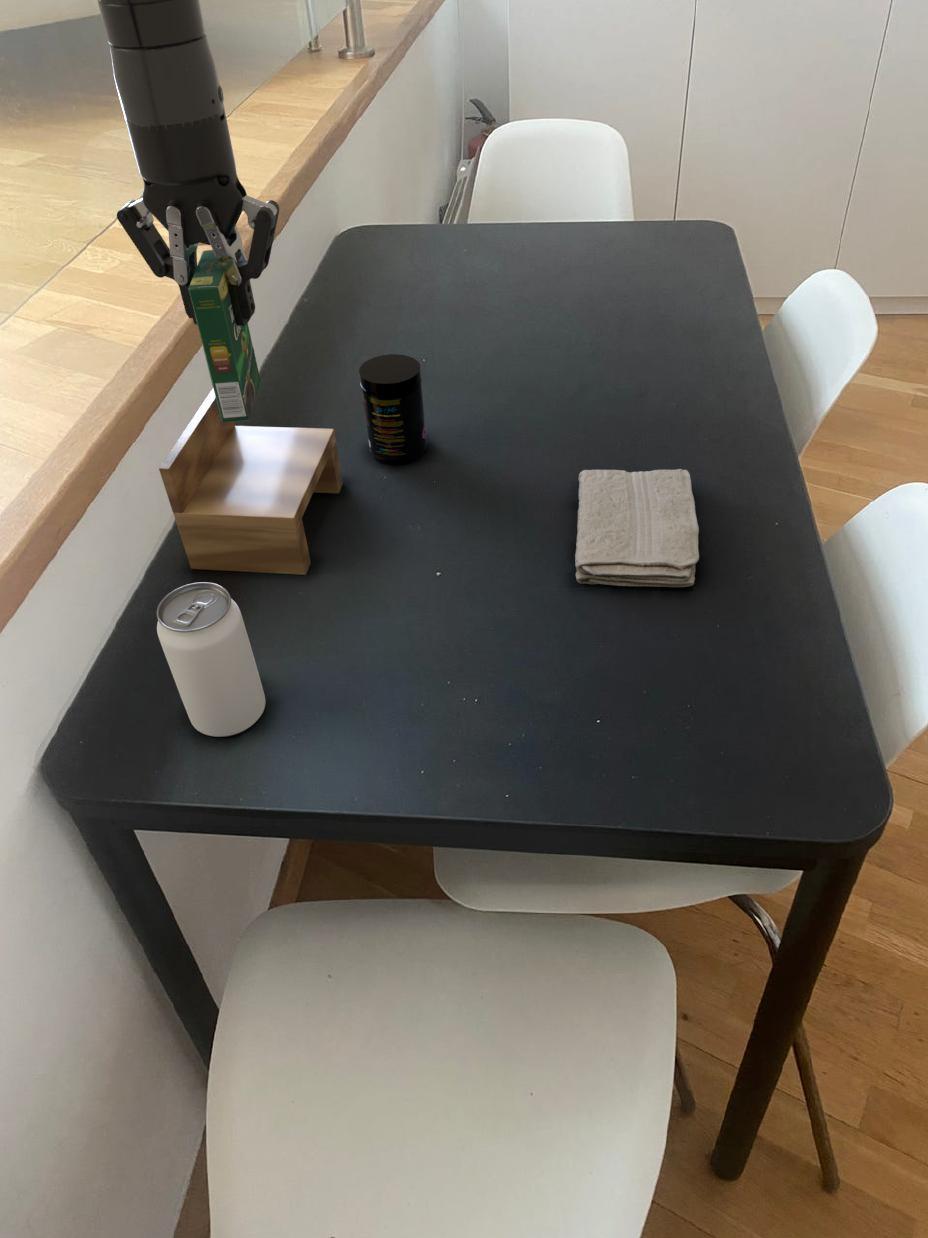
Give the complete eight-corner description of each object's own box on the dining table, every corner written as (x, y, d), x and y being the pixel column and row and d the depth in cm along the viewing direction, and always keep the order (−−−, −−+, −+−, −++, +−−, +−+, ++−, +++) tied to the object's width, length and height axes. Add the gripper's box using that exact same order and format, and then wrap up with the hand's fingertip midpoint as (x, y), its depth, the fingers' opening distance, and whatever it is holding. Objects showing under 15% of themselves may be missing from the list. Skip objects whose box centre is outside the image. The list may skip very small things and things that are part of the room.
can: (281, 695, 79) (253, 590, 71) (237, 749, 75) (202, 644, 67) (220, 674, 81) (185, 570, 73) (174, 726, 77) (132, 621, 69)
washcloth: (573, 590, 87) (575, 565, 85) (575, 482, 100) (576, 458, 98) (701, 593, 86) (705, 568, 84) (685, 484, 99) (689, 460, 97)
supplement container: (431, 462, 105) (424, 379, 98) (372, 470, 104) (361, 387, 97) (423, 432, 110) (416, 350, 103) (367, 439, 109) (356, 358, 102)
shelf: (306, 575, 91) (284, 473, 83) (190, 569, 93) (158, 468, 84) (343, 483, 103) (327, 385, 94) (240, 479, 104) (216, 383, 96)
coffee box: (251, 423, 85) (219, 283, 76) (220, 425, 85) (184, 285, 76) (263, 381, 91) (234, 246, 82) (233, 382, 91) (201, 248, 82)
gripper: (65, 121, 69) (132, 339, 80) (246, 119, 67) (288, 342, 78) (107, 95, 74) (164, 302, 86) (276, 92, 72) (310, 305, 84)
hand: (223, 320), depth 82 cm, fingers closed on coffee box, 3 cm apart
